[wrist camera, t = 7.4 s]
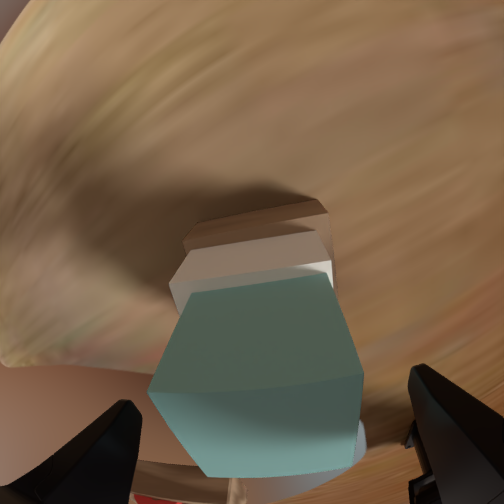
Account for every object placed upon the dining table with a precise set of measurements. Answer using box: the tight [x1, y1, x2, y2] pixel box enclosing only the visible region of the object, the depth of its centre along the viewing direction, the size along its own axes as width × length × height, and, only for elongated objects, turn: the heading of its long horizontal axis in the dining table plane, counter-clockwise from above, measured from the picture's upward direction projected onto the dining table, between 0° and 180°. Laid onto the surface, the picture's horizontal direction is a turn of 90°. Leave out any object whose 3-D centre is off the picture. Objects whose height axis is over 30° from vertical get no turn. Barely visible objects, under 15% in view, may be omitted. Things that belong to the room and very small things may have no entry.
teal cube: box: [147, 273, 364, 478], centre depth 9 cm, size 5×5×5 cm
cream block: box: [169, 230, 333, 316], centre depth 13 cm, size 6×6×4 cm
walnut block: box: [182, 199, 339, 303], centre depth 16 cm, size 7×7×4 cm
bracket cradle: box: [129, 460, 248, 504], centre depth 27 cm, size 9×16×6 cm, turn 102°
